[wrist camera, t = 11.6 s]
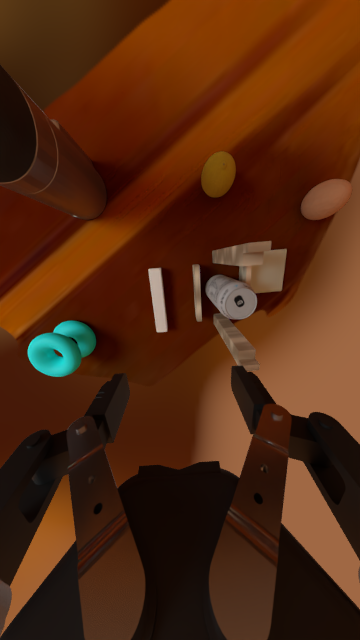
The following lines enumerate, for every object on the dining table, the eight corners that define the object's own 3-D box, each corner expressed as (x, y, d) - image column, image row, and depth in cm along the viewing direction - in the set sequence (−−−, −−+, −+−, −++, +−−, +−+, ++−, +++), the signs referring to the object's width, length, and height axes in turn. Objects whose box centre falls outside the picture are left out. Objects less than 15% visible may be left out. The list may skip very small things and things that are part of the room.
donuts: (83, 376, 35) (36, 382, 35) (103, 351, 44) (66, 356, 44) (65, 333, 31) (14, 340, 31) (91, 316, 40) (51, 321, 41)
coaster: (243, 252, 36) (244, 252, 35) (284, 249, 36) (287, 248, 35) (241, 293, 39) (242, 294, 39) (279, 290, 39) (281, 290, 38)
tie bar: (150, 268, 37) (148, 269, 34) (161, 267, 37) (160, 268, 34) (157, 327, 42) (156, 332, 39) (167, 326, 42) (167, 331, 39)
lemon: (200, 166, 31) (208, 136, 23) (229, 170, 31) (246, 142, 24) (196, 201, 33) (202, 184, 25) (224, 205, 33) (238, 189, 25)
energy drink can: (212, 304, 40) (232, 329, 26) (199, 283, 38) (213, 298, 24) (234, 291, 39) (267, 309, 25) (222, 269, 37) (251, 275, 23)
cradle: (191, 252, 36) (207, 246, 18) (244, 247, 36) (312, 237, 18) (196, 325, 42) (210, 374, 24) (241, 320, 42) (290, 367, 24)
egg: (287, 218, 34) (320, 205, 26) (302, 185, 32) (342, 161, 24) (311, 227, 35) (350, 218, 27) (327, 196, 33) (374, 176, 25)
